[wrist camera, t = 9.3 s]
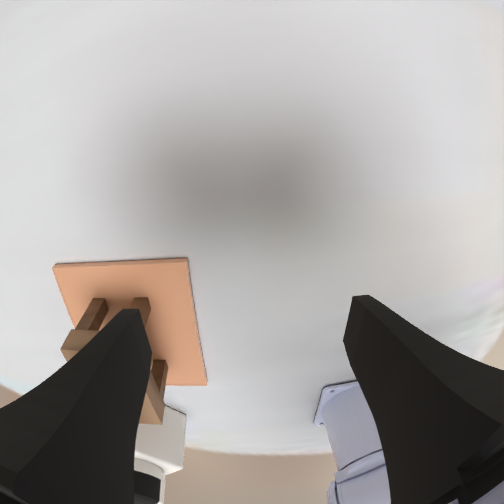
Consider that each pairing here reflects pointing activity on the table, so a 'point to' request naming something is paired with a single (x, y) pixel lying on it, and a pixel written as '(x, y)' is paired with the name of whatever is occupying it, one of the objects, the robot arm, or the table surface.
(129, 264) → the terracotta tile
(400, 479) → the robot arm
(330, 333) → the table surface
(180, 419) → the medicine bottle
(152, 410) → the brown slotted block
